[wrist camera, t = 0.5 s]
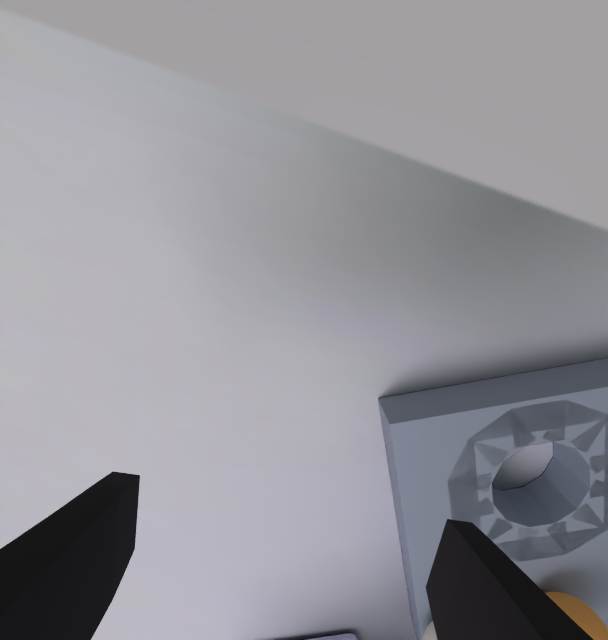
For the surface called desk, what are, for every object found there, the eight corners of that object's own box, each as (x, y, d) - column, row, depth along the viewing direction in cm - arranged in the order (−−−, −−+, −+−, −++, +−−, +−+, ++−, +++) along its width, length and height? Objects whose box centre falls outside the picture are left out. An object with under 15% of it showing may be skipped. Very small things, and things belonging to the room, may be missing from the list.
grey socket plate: (629, 587, 21) (670, 632, 19) (411, 619, 22) (425, 667, 20) (638, 352, 18) (691, 372, 15) (377, 398, 18) (389, 424, 16)
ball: (578, 620, 19) (637, 704, 15) (512, 630, 19) (557, 714, 16) (578, 569, 18) (640, 646, 15) (509, 580, 18) (556, 658, 15)
